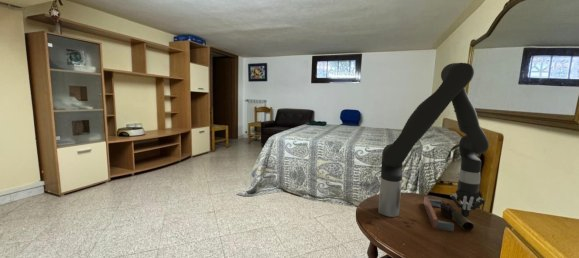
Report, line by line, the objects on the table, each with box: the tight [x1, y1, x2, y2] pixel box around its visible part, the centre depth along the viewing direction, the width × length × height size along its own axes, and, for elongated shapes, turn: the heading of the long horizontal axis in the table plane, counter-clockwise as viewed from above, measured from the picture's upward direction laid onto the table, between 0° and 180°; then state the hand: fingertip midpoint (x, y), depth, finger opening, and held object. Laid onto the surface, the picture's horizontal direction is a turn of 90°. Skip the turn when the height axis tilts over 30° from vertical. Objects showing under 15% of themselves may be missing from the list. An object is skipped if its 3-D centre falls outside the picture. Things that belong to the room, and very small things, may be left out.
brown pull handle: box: [423, 196, 455, 232], centre depth 111 cm, size 8×24×4 cm, turn 159°
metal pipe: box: [439, 202, 475, 232], centre depth 107 cm, size 18×7×6 cm, turn 176°
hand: (464, 216), depth 107 cm, fingers closed
